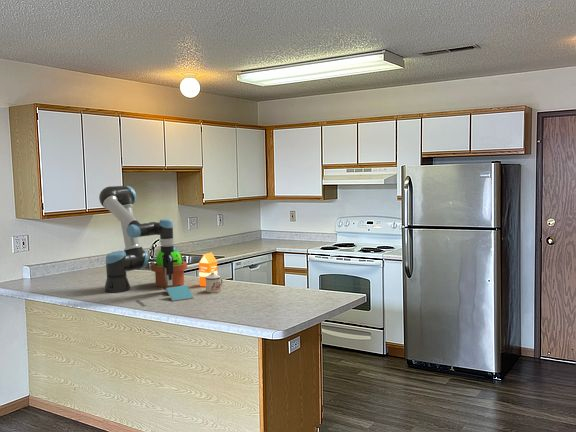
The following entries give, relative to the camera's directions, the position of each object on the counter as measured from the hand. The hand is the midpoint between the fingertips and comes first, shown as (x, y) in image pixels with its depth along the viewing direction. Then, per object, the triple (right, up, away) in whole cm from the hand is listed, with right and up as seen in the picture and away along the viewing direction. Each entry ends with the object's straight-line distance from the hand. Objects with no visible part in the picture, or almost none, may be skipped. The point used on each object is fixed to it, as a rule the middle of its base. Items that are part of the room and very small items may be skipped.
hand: (168, 284), depth 326 cm
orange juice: (+21, -3, +20) cm, 29 cm away
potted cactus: (-4, -3, +24) cm, 25 cm away
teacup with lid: (+27, -4, +1) cm, 28 cm away
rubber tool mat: (-6, -7, -24) cm, 25 cm away
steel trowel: (+2, -3, -3) cm, 5 cm away
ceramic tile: (+10, -3, -17) cm, 20 cm away
